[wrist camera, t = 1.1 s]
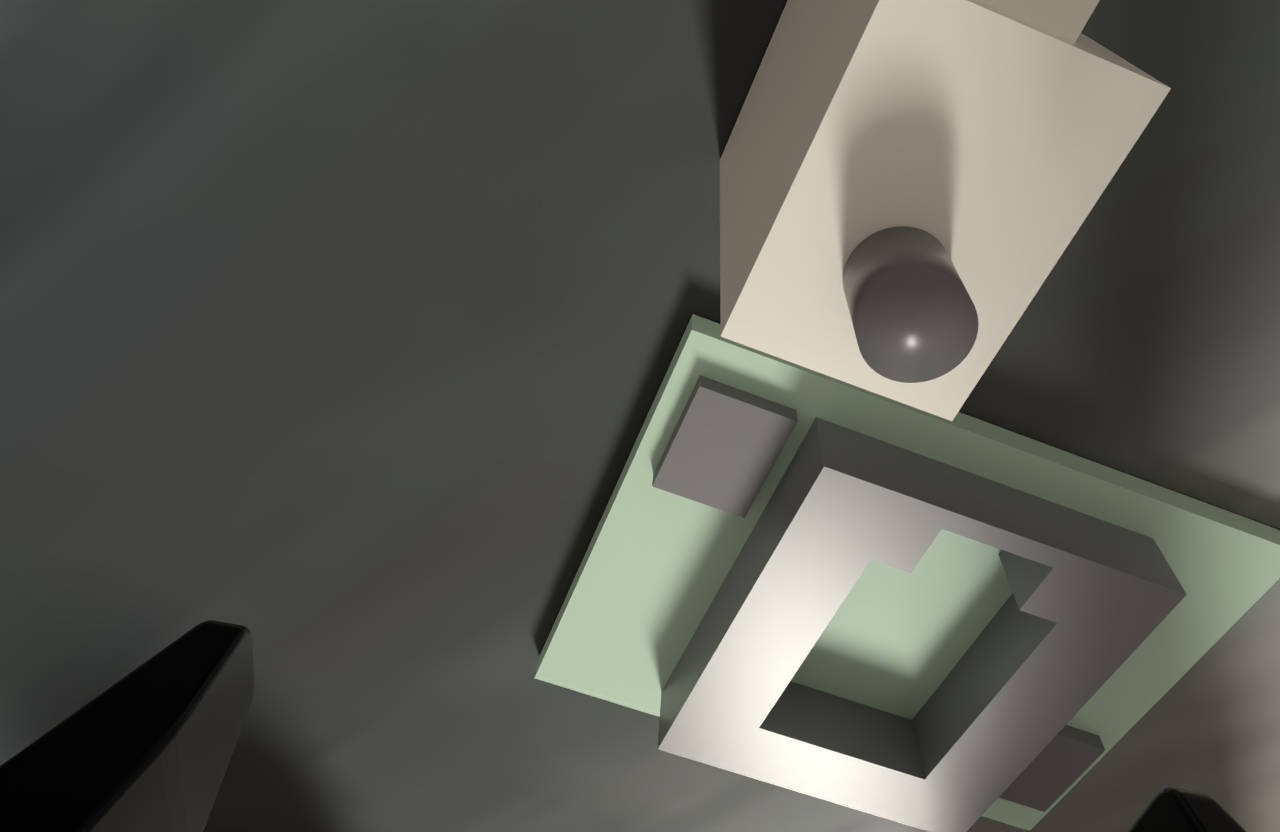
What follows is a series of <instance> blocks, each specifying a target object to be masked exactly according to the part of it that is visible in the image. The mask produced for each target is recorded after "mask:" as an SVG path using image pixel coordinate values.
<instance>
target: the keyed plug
mask: <svg viewBox="0 0 1280 832" xmlns="http://www.w3.org/2000/svg"><path fill="white" fill-rule="evenodd" d="M1099 1H1100V0H787V3H786V5H785V8H784V10H783V12H782V15H781V17H780V19H779V22H778V24H777V26H776V29H775V31H774V33H773V36H772V38H771V41H770V43H769V45H768V48H767V50H766V52H765V55H764V57H763V59H762V62H761V64H760V67H759V69H758V71H757V74H756V76H755V78H754V81H753V83H752V85H751V88H750V90H749V93H748V95H747V97H746V100H745V102H744V104H743V107H742V109H741V111H740V114H739V116H738V118H737V121H736V123H735V126H734V128H733V130H732V133H731V135H730V137H729V140H728V142H727V144H726V147H725V149H724V152H723V154H722V156H721V159H720V336H721V337H724V338H726V339H729V340H732V341H734V342H737V343H740V344H743V345H745V346H748V347H751V348H753V349H756V350H759V351H762V352H764V353H767V354H770V355H773V356H775V357H778V358H781V359H783V360H786V361H789V362H792V363H794V364H797V365H800V366H803V367H805V368H808V369H811V370H813V371H816V372H819V373H822V374H824V375H827V376H830V377H833V378H835V379H838V380H841V381H843V382H846V383H849V384H852V385H854V386H857V387H860V388H863V389H865V390H868V391H871V392H873V393H876V394H879V395H882V396H884V397H887V398H890V399H893V400H895V401H898V402H901V403H903V404H906V405H909V406H912V407H914V408H917V409H920V410H923V411H925V412H928V413H931V414H933V415H936V416H939V417H942V418H944V419H947V420H950V421H953V419H954V418H955V416H956V415H957V413H958V412H959V410H960V408H961V407H962V405H963V404H964V402H965V401H966V399H967V398H968V396H969V395H970V393H971V392H972V390H973V389H974V387H975V386H976V384H977V383H978V381H979V380H980V378H981V377H982V375H983V374H984V372H985V371H986V369H987V367H988V366H989V364H990V363H991V361H992V360H993V358H994V357H995V355H996V354H997V352H998V351H999V349H1000V348H1001V346H1002V345H1003V343H1004V342H1005V340H1006V339H1007V337H1008V336H1009V334H1010V333H1011V331H1012V330H1013V328H1014V326H1015V325H1016V323H1017V322H1018V320H1019V319H1020V317H1021V316H1022V314H1023V313H1024V311H1025V310H1026V308H1027V307H1028V305H1029V304H1030V302H1031V301H1032V299H1033V298H1034V296H1035V295H1036V293H1037V292H1038V290H1039V289H1040V287H1041V285H1042V284H1043V282H1044V281H1045V279H1046V278H1047V276H1048V275H1049V273H1050V272H1051V270H1052V269H1053V267H1054V266H1055V264H1056V263H1057V261H1058V260H1059V258H1060V257H1061V255H1062V254H1063V252H1064V251H1065V249H1066V248H1067V246H1068V244H1069V243H1070V241H1071V240H1072V238H1073V237H1074V235H1075V234H1076V232H1077V231H1078V229H1079V228H1080V226H1081V225H1082V223H1083V222H1084V220H1085V219H1086V217H1087V216H1088V214H1089V213H1090V211H1091V210H1092V208H1093V207H1094V205H1095V203H1096V202H1097V200H1098V199H1099V197H1100V196H1101V194H1102V193H1103V191H1104V190H1105V188H1106V187H1107V185H1108V184H1109V182H1110V181H1111V179H1112V178H1113V176H1114V175H1115V173H1116V172H1117V170H1118V169H1119V167H1120V166H1121V164H1122V163H1123V161H1124V159H1125V158H1126V156H1127V155H1128V153H1129V152H1130V150H1131V149H1132V147H1133V146H1134V144H1135V143H1136V141H1137V140H1138V138H1139V137H1140V135H1141V134H1142V132H1143V131H1144V129H1145V128H1146V126H1147V125H1148V123H1149V122H1150V120H1151V118H1152V117H1153V115H1154V114H1155V112H1156V111H1157V109H1158V108H1159V106H1160V105H1161V103H1162V102H1163V100H1164V99H1165V97H1166V96H1167V94H1168V93H1169V91H1170V90H1171V88H1170V87H1168V86H1166V85H1165V84H1163V83H1162V82H1160V81H1158V80H1157V79H1155V78H1154V77H1152V76H1150V75H1149V74H1147V73H1145V72H1144V71H1142V70H1141V69H1139V68H1137V67H1136V66H1134V65H1132V64H1131V63H1129V62H1128V61H1126V60H1124V59H1123V58H1121V57H1120V56H1118V55H1116V54H1115V53H1113V52H1111V51H1110V50H1108V49H1107V48H1105V47H1103V46H1102V45H1100V44H1098V43H1097V42H1095V41H1094V40H1092V39H1090V38H1089V37H1087V36H1085V35H1084V34H1082V33H1081V31H1082V30H1083V28H1084V26H1085V25H1086V23H1087V21H1088V19H1089V18H1090V16H1091V14H1092V13H1093V11H1094V9H1095V8H1096V6H1097V4H1098V2H1099Z"/></svg>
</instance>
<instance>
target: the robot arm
mask: <svg viewBox="0 0 1280 832" xmlns="http://www.w3.org/2000/svg"><path fill="white" fill-rule="evenodd" d="M253 693H254V666H253V647H252V636H251V632H250V630H249V629H248V628H247V627H244V626H242V625H236V624H231V623H225V622H219V621H205V622H203V623H200V624H199V625H197V626H195V627H194V628H193V629H191V630H190V631H188V632H187V633H186V634H184V635H183V636H181V637H180V638H179V639H177V640H176V641H174V642H173V643H172V644H170V645H169V646H167V647H166V648H165V649H163V650H162V651H160V652H159V653H158V654H156V655H155V656H153V657H152V658H151V659H149V660H148V661H147V662H145V663H144V664H142V665H141V666H140V667H138V668H137V669H135V670H134V671H133V672H131V673H130V674H128V675H127V676H126V677H124V678H123V679H121V680H120V681H119V682H117V683H116V684H114V685H113V686H112V687H110V688H109V689H107V690H106V691H105V692H103V693H102V694H100V695H99V696H98V697H96V698H95V699H93V700H92V701H91V702H89V703H88V704H86V705H85V706H84V707H82V708H81V709H79V710H78V711H77V712H75V713H74V714H72V715H71V716H70V717H68V718H67V719H65V720H64V721H63V722H61V723H60V724H58V725H57V726H56V727H54V728H53V729H51V730H50V731H49V732H47V733H46V734H44V735H43V736H42V737H40V738H39V739H37V740H36V741H35V742H33V743H32V744H30V745H29V746H28V747H26V748H25V749H23V750H22V751H21V752H19V753H18V754H16V755H15V756H14V757H12V758H11V759H9V760H8V761H7V762H5V763H4V764H2V765H1V766H0V832H203V831H204V829H205V826H206V823H207V821H208V818H209V815H210V813H211V810H212V807H213V805H214V802H215V799H216V797H217V794H218V791H219V789H220V786H221V783H222V781H223V778H224V776H225V773H226V770H227V768H228V765H229V762H230V760H231V757H232V754H233V752H234V749H235V746H236V744H237V741H238V738H239V736H240V733H241V730H242V728H243V725H244V722H245V720H246V717H247V714H248V712H249V709H250V706H251V702H252V698H253ZM1128 832H1246V831H1245V830H1244V829H1243V828H1242V827H1241V826H1240V825H1239V824H1238V823H1237V822H1236V821H1235V820H1234V819H1233V818H1232V817H1231V816H1230V815H1229V814H1228V813H1227V812H1226V811H1225V810H1224V809H1223V808H1222V807H1221V806H1220V805H1219V804H1218V803H1217V802H1216V801H1215V800H1213V799H1212V798H1210V797H1209V796H1207V795H1205V794H1202V793H1197V792H1192V791H1186V790H1180V789H1174V788H1167V789H1164V790H1162V791H1160V792H1159V793H1158V794H1157V795H1156V796H1155V797H1154V798H1153V800H1152V801H1151V802H1150V804H1149V805H1148V806H1147V808H1146V809H1145V810H1144V811H1143V813H1142V814H1141V815H1140V817H1139V818H1138V819H1137V821H1136V822H1135V823H1134V824H1133V826H1132V827H1131V828H1130V830H1129V831H1128Z"/></svg>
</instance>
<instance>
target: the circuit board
mask: <svg viewBox="0 0 1280 832" xmlns="http://www.w3.org/2000/svg"><path fill="white" fill-rule="evenodd" d="M816 417H817V418H820V419H823V420H826V421H829V422H831V423H834V424H837V425H840V426H842V427H845V428H848V429H851V430H854V431H856V432H859V433H862V434H865V435H867V436H870V437H873V438H876V439H879V440H881V441H884V442H887V443H890V444H892V445H895V446H898V447H901V448H904V449H906V450H909V451H912V452H915V453H917V454H920V455H923V456H926V457H929V458H931V459H934V460H937V461H940V462H942V463H945V464H948V465H951V466H954V467H956V468H959V469H962V470H965V471H967V472H970V473H973V474H976V475H979V476H981V477H984V478H987V479H990V480H992V481H995V482H998V483H1001V484H1004V485H1006V486H1009V487H1012V488H1015V489H1017V490H1020V491H1023V492H1026V493H1029V494H1031V495H1034V496H1037V497H1040V498H1042V499H1045V500H1048V501H1051V502H1054V503H1056V504H1059V505H1062V506H1065V507H1067V508H1070V509H1073V510H1076V511H1079V512H1081V513H1084V514H1087V515H1090V516H1092V517H1095V518H1098V519H1101V520H1104V521H1106V522H1109V523H1112V524H1115V525H1117V526H1120V527H1123V528H1126V529H1129V530H1131V531H1134V532H1137V533H1140V534H1142V535H1145V536H1148V537H1151V538H1153V539H1154V541H1155V542H1156V544H1157V546H1158V547H1159V549H1160V551H1161V552H1162V554H1163V556H1164V557H1165V559H1166V561H1167V562H1168V564H1169V566H1170V567H1171V569H1172V571H1173V572H1174V574H1175V576H1176V577H1177V579H1178V581H1179V582H1180V584H1181V586H1182V587H1183V589H1184V591H1185V592H1186V594H1187V595H1186V596H1185V597H1184V598H1183V599H1182V600H1181V601H1180V603H1179V604H1178V605H1177V606H1176V607H1175V608H1174V609H1173V610H1172V611H1171V612H1170V613H1169V614H1168V615H1167V617H1166V618H1165V619H1164V620H1163V621H1162V622H1161V623H1160V624H1159V625H1158V626H1157V627H1156V628H1155V629H1154V631H1153V632H1152V633H1151V634H1150V635H1149V636H1148V637H1147V638H1146V639H1145V640H1144V641H1143V642H1142V643H1141V645H1140V646H1139V647H1138V648H1137V649H1136V650H1135V651H1134V652H1133V653H1132V654H1131V655H1130V656H1129V657H1128V659H1127V660H1126V661H1125V662H1124V663H1123V664H1122V665H1121V666H1120V667H1119V668H1118V669H1117V670H1116V671H1115V673H1114V674H1113V675H1112V676H1111V677H1110V678H1109V679H1108V680H1107V681H1106V682H1105V683H1104V684H1103V685H1102V687H1101V688H1100V689H1099V690H1098V691H1097V692H1096V693H1095V694H1094V695H1093V696H1092V697H1091V698H1090V699H1089V701H1088V702H1087V703H1086V704H1085V705H1084V706H1083V707H1082V708H1081V709H1080V710H1079V711H1078V712H1077V713H1076V715H1075V716H1074V717H1073V718H1072V719H1071V720H1070V721H1069V722H1068V723H1067V724H1066V725H1065V726H1064V727H1063V729H1062V730H1061V731H1060V732H1059V733H1058V734H1057V735H1056V736H1055V737H1054V738H1053V739H1052V740H1051V741H1050V742H1049V744H1048V745H1047V746H1046V747H1045V748H1044V749H1043V750H1042V751H1041V752H1040V753H1039V754H1038V755H1037V756H1036V758H1035V759H1034V760H1033V761H1032V762H1031V763H1030V764H1029V765H1028V766H1027V767H1026V768H1025V769H1024V770H1023V772H1022V773H1021V774H1020V775H1019V776H1018V777H1017V778H1016V779H1015V780H1014V781H1013V782H1012V783H1011V784H1010V786H1009V787H1008V788H1007V789H1006V790H1005V791H1004V792H1003V793H1002V794H1001V795H1000V796H999V797H998V798H997V800H996V801H995V802H994V803H993V804H992V805H991V806H990V807H989V808H988V809H987V810H986V811H985V812H984V814H983V815H982V817H986V818H989V819H992V820H995V821H999V822H1002V823H1005V824H1008V825H1011V826H1015V827H1018V828H1021V829H1024V830H1028V831H1030V830H1031V829H1032V828H1033V827H1034V826H1035V825H1036V824H1037V823H1038V822H1039V821H1040V820H1041V819H1042V818H1043V817H1044V816H1045V815H1046V814H1047V813H1048V812H1049V811H1050V810H1051V809H1052V808H1053V807H1054V806H1055V805H1056V804H1057V803H1058V802H1059V801H1060V800H1061V799H1062V798H1063V797H1064V796H1065V795H1066V794H1067V793H1068V792H1069V791H1070V790H1071V789H1072V788H1073V787H1074V786H1075V785H1076V784H1077V783H1078V782H1079V781H1080V780H1081V779H1082V778H1083V777H1084V776H1085V775H1086V774H1087V773H1088V772H1089V771H1090V770H1091V769H1092V768H1093V767H1094V766H1095V765H1096V764H1097V762H1098V761H1099V760H1100V759H1101V758H1102V757H1103V756H1104V755H1105V754H1106V753H1107V752H1108V751H1109V750H1110V749H1111V748H1112V747H1113V746H1114V745H1115V744H1116V743H1117V742H1118V741H1119V740H1120V739H1121V738H1122V737H1123V736H1124V735H1125V734H1126V733H1127V732H1128V731H1129V730H1130V729H1131V728H1132V727H1133V726H1134V725H1135V724H1136V723H1137V722H1138V721H1139V720H1140V719H1141V718H1142V717H1143V716H1144V715H1145V714H1146V713H1147V712H1148V711H1149V710H1150V709H1151V708H1152V707H1153V706H1154V705H1155V704H1156V703H1157V702H1158V701H1159V700H1160V699H1161V698H1162V697H1163V696H1164V695H1165V694H1166V693H1167V692H1168V691H1169V690H1170V689H1171V688H1172V687H1173V686H1174V685H1175V684H1176V683H1177V682H1178V681H1179V680H1180V678H1181V677H1182V676H1183V675H1184V674H1185V673H1186V672H1187V671H1188V670H1189V669H1190V668H1191V667H1192V666H1193V665H1194V664H1195V663H1196V662H1197V661H1198V660H1199V659H1200V658H1201V657H1202V656H1203V655H1204V654H1205V653H1206V652H1207V651H1208V650H1209V649H1210V648H1211V647H1212V646H1213V645H1214V644H1215V643H1216V642H1217V641H1218V640H1219V639H1220V638H1221V637H1222V636H1223V635H1224V634H1225V633H1226V632H1227V631H1228V630H1229V629H1230V628H1231V627H1232V626H1233V625H1234V624H1235V623H1236V622H1237V621H1238V620H1239V619H1240V618H1241V617H1242V616H1243V615H1244V614H1245V613H1246V612H1247V611H1248V610H1249V609H1250V608H1251V607H1252V606H1253V605H1254V604H1255V603H1256V602H1257V601H1258V600H1259V599H1260V598H1261V597H1262V595H1263V594H1264V593H1265V592H1266V591H1267V590H1268V589H1269V588H1270V587H1271V586H1272V585H1273V584H1274V583H1275V582H1276V581H1277V580H1278V579H1279V578H1280V530H1278V529H1275V528H1272V527H1270V526H1267V525H1264V524H1262V523H1259V522H1256V521H1253V520H1251V519H1248V518H1245V517H1243V516H1240V515H1237V514H1234V513H1232V512H1229V511H1226V510H1224V509H1221V508H1218V507H1215V506H1213V505H1210V504H1207V503H1205V502H1202V501H1199V500H1196V499H1194V498H1191V497H1188V496H1186V495H1183V494H1180V493H1177V492H1175V491H1172V490H1169V489H1167V488H1164V487H1161V486H1158V485H1156V484H1153V483H1150V482H1148V481H1145V480H1142V479H1139V478H1137V477H1134V476H1131V475H1129V474H1126V473H1123V472H1120V471H1118V470H1115V469H1112V468H1110V467H1107V466H1104V465H1101V464H1099V463H1096V462H1093V461H1091V460H1088V459H1085V458H1082V457H1080V456H1077V455H1074V454H1072V453H1069V452H1066V451H1063V450H1061V449H1058V448H1055V447H1053V446H1050V445H1047V444H1044V443H1042V442H1039V441H1036V440H1034V439H1031V438H1028V437H1025V436H1023V435H1020V434H1017V433H1015V432H1012V431H1009V430H1006V429H1004V428H1001V427H998V426H996V425H993V424H990V423H987V422H985V421H982V420H979V419H977V418H974V417H971V416H968V415H966V414H963V413H960V412H958V413H957V415H956V416H955V418H954V419H953V421H950V420H947V419H944V418H942V417H939V416H936V415H933V414H931V413H928V412H925V411H923V410H920V409H917V408H914V407H912V406H909V405H906V404H903V403H901V402H898V401H895V400H893V399H890V398H887V397H884V396H882V395H879V394H876V393H873V392H871V391H868V390H865V389H863V388H860V387H857V386H854V385H852V384H849V383H846V382H843V381H841V380H838V379H835V378H833V377H830V376H827V375H824V374H822V373H819V372H816V371H813V370H811V369H808V368H805V367H803V366H800V365H797V364H794V363H792V362H789V361H786V360H783V359H781V358H778V357H775V356H773V355H770V354H767V353H764V352H762V351H759V350H756V349H753V348H751V347H748V346H745V345H743V344H740V343H737V342H734V341H732V340H729V339H726V338H724V337H721V336H720V324H719V323H716V322H713V321H711V320H708V319H705V318H702V317H700V316H697V315H694V314H692V316H691V319H690V321H689V323H688V325H687V328H686V330H685V332H684V334H683V337H682V339H681V341H680V343H679V345H678V348H677V350H676V352H675V354H674V357H673V359H672V361H671V363H670V366H669V368H668V370H667V372H666V375H665V377H664V379H663V381H662V383H661V386H660V388H659V390H658V392H657V395H656V397H655V399H654V401H653V404H652V406H651V408H650V410H649V413H648V415H647V417H646V419H645V421H644V424H643V426H642V428H641V430H640V433H639V435H638V437H637V439H636V442H635V444H634V446H633V448H632V450H631V453H630V455H629V457H628V459H627V462H626V464H625V466H624V468H623V471H622V473H621V475H620V477H619V480H618V482H617V484H616V486H615V488H614V491H613V493H612V495H611V497H610V500H609V502H608V504H607V506H606V509H605V511H604V513H603V515H602V518H601V520H600V522H599V524H598V526H597V529H596V531H595V533H594V535H593V538H592V540H591V542H590V544H589V547H588V549H587V551H586V553H585V556H584V558H583V560H582V562H581V564H580V567H579V569H578V571H577V573H576V576H575V578H574V580H573V582H572V585H571V587H570V589H569V591H568V593H567V596H566V598H565V600H564V602H563V605H562V607H561V609H560V611H559V614H558V616H557V618H556V620H555V623H554V625H553V627H552V629H551V631H550V634H549V636H548V638H547V640H546V643H545V645H544V647H543V649H542V652H541V654H540V656H539V659H538V664H537V669H536V673H535V678H536V679H539V680H542V681H545V682H548V683H552V684H555V685H558V686H561V687H565V688H568V689H571V690H574V691H578V692H581V693H584V694H587V695H591V696H594V697H597V698H600V699H603V700H607V701H610V702H613V703H616V704H620V705H623V706H626V707H629V708H633V709H636V710H639V711H642V712H646V713H649V714H652V715H655V716H659V717H660V706H661V692H662V690H663V688H664V686H665V684H666V683H667V681H668V679H669V677H670V676H671V674H672V672H673V670H674V668H675V667H676V665H677V663H678V661H679V660H680V658H681V656H682V654H683V652H684V651H685V649H686V647H687V645H688V644H689V642H690V640H691V638H692V636H693V635H694V633H695V631H696V629H697V628H698V626H699V624H700V622H701V620H702V619H703V617H704V615H705V613H706V612H707V610H708V608H709V606H710V605H711V603H712V601H713V599H714V597H715V596H716V594H717V592H718V590H719V589H720V587H721V585H722V583H723V581H724V580H725V578H726V576H727V574H728V573H729V571H730V569H731V567H732V565H733V564H734V562H735V560H736V558H737V557H738V555H739V553H740V551H741V549H742V548H743V546H744V544H745V542H746V541H747V539H748V537H749V535H750V533H751V532H752V530H753V528H754V526H755V525H756V523H757V521H758V519H759V518H760V516H761V514H762V512H763V510H764V509H765V507H766V505H767V503H768V502H769V500H770V498H771V496H772V494H773V493H774V491H775V489H776V487H777V486H778V484H779V482H780V480H781V478H782V477H783V475H784V473H785V471H786V470H787V468H788V466H789V464H790V462H791V461H792V459H793V457H794V455H795V454H796V452H797V450H798V448H799V447H800V445H801V443H802V441H803V439H804V438H805V436H806V434H807V432H808V431H809V429H810V427H811V425H812V423H813V422H814V420H815V418H816ZM1000 551H1001V549H998V548H995V547H993V546H990V545H987V544H984V543H981V542H978V541H975V540H973V539H970V538H967V537H964V536H961V535H958V534H955V533H953V532H950V531H947V530H944V529H941V531H940V532H939V534H938V535H937V537H936V538H935V539H934V541H933V542H932V544H931V545H930V547H929V548H928V549H927V551H926V552H925V554H924V555H923V556H922V558H921V559H920V561H919V562H918V564H917V565H916V566H915V568H914V569H913V571H912V572H911V573H909V572H906V571H903V570H900V569H897V568H894V567H891V566H889V565H886V564H883V563H880V562H877V561H874V560H871V561H870V562H869V564H868V565H867V567H866V568H865V570H864V571H863V573H862V574H861V576H860V577H859V579H858V580H857V582H856V583H855V585H854V586H853V588H852V589H851V591H850V592H849V594H848V595H847V597H846V598H845V600H844V601H843V603H842V604H841V606H840V607H839V609H838V610H837V612H836V613H835V615H834V616H833V618H832V619H831V621H830V622H829V624H828V625H827V627H826V628H825V630H824V631H823V633H822V634H821V636H820V637H819V639H818V640H817V642H816V643H815V645H814V646H813V648H812V649H811V651H810V652H809V654H808V655H807V657H806V658H805V660H804V661H803V663H802V664H801V666H800V667H799V669H798V670H797V672H796V673H795V675H794V676H793V678H792V679H791V681H792V682H795V683H798V684H801V685H804V686H807V687H811V688H814V689H817V690H820V691H823V692H826V693H829V694H832V695H836V696H839V697H842V698H845V699H848V700H851V701H854V702H857V703H861V704H864V705H867V706H870V707H873V708H876V709H879V710H882V711H886V712H889V713H892V714H895V715H898V716H901V717H904V718H907V719H911V720H912V719H913V718H914V717H915V716H916V714H917V713H918V712H919V711H920V709H921V708H922V707H923V706H924V704H925V703H926V702H927V701H928V699H929V698H930V697H931V695H932V694H933V693H934V692H935V690H936V689H937V688H938V687H939V685H940V684H941V683H942V682H943V680H944V679H945V678H946V677H947V675H948V674H949V673H950V671H951V670H952V669H953V668H954V666H955V665H956V664H957V663H958V661H959V660H960V659H961V658H962V656H963V655H964V654H965V653H966V651H967V650H968V649H969V648H970V646H971V645H972V644H973V642H974V641H975V640H976V639H977V637H978V636H979V635H980V634H981V632H982V631H983V630H984V629H985V627H986V626H987V625H988V624H989V622H990V621H991V620H992V619H993V617H994V616H995V615H996V613H997V612H998V611H999V610H1000V608H1001V607H1002V606H1003V605H1004V603H1005V602H1006V601H1007V600H1008V598H1009V597H1010V596H1011V595H1012V593H1013V592H1012V589H1011V587H1010V584H1009V581H1008V579H1007V576H1006V573H1005V571H1004V568H1003V565H1002V563H1001V560H1000V558H999V555H998V554H999V553H1000Z"/></svg>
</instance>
